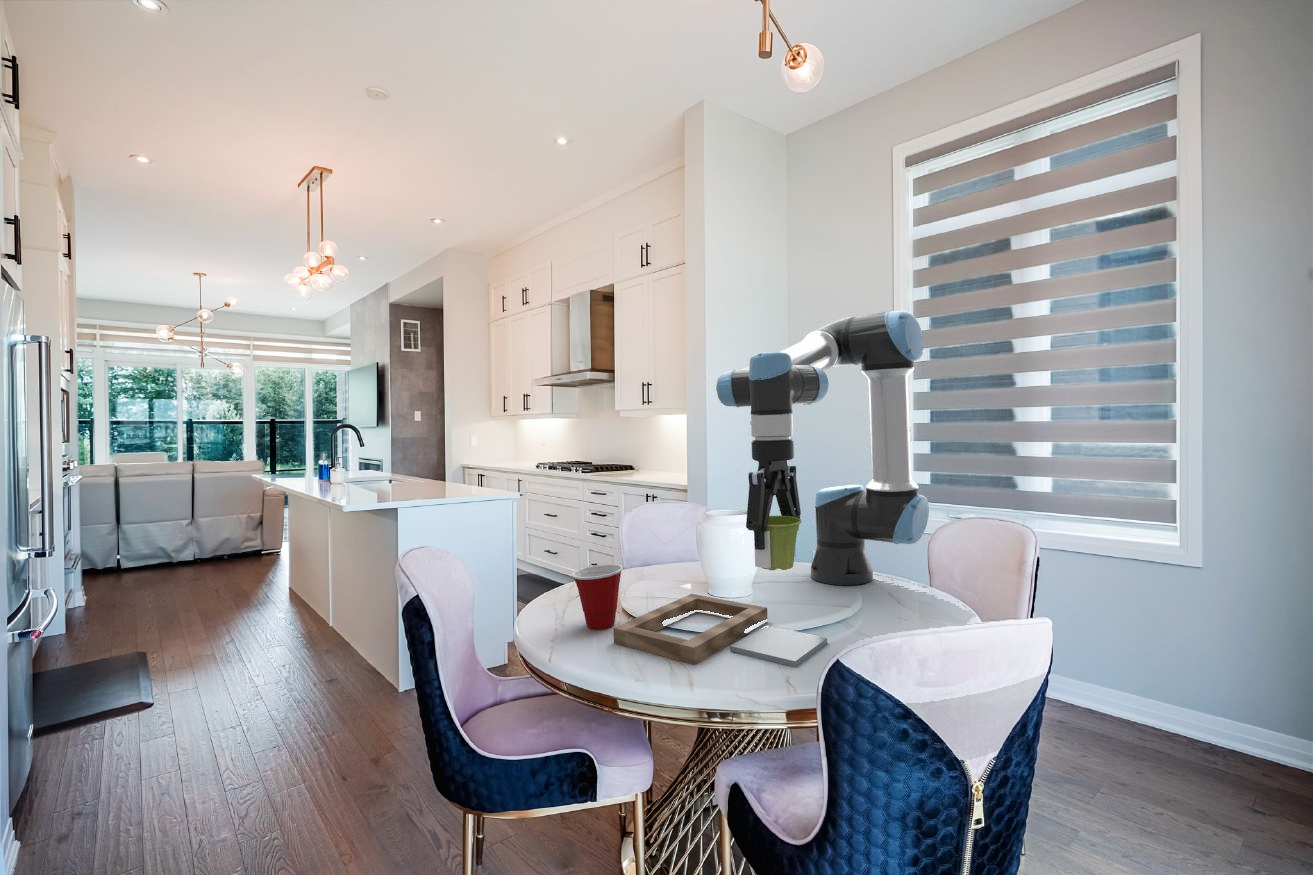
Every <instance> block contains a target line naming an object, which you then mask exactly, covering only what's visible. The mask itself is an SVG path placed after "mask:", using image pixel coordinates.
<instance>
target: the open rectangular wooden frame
mask: <svg viewBox="0 0 1313 875" xmlns="http://www.w3.org/2000/svg"><path fill="white" fill-rule="evenodd" d="M694 610H703V611H710V612H714V613H719V614H722V615H729V616H733V617H731V618H729V619H728V618H726V619H725V620H723V621H722V622H720V623H718V624H716V625H714V626H712V627H710V628H708V629H706V630H705V631H702V632H701V633H698V634H697V635H695V636H693V637H691V638H689V639H685V638H681V637H677V636H673V635H669V634H665V633H660V632H658V631H660V630H663V629H664V628H666V627H665V626H663V624H662V622H663V621H664V620H666V619H670V618H673V617H677V616H679V615H683V614H685V613H688V612H690V611H694ZM766 619H768V607H766V606H761V605H755V604H750V603H744V602H739V601H734V600H727V599H723V598H717V597H713V596H712V597H711V596H707V595H702V594H701V595H700V594H696V593H695V594H694V593H690V594H688V595H686V596H683V597H681V598H679V599H677V600H674V601H672V602H669V603H667V604H666V605H663V606H660V607H658V608H656V609H654V610H653V609H652V611H649V612H646V613H643V614H641V615H640V616H637V617H635V618H632V619H630V620H628V621H626V622H624V623H621V624H619V625H617V626H615V627H614V626H613V629H612V630H613V631H612V632H613V644H616V645H619V646H624V647H627V648H631V649H635V650H638V651H642V652H646V653H650V654H653V655H655V656H656V655H657V656H662V657H663V658H664V657H665V658H667V659H668V658H669V659H671V660H676V661H679V662H683V663H686V664H690V665H696V664H698V663H700V662H701V661H703V660H705V659H707V658H708V657H710V656H711V655H714V654H715V653H717V652H719V651H720V650H722V649H724V648H726V647H727V646H728V645H729V646H730V645H732V644H733V642H734V643H735V642H737V640H740V639H742V637H743V638H744V637H745V636H747V634H746V633H744V631H745V629H747V628H749V627H750V626H752V625H754V624H757V623H758V622H761V621H763V620H766Z"/></svg>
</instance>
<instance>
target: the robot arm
mask: <svg viewBox="0 0 1313 875" xmlns="http://www.w3.org/2000/svg"><path fill="white" fill-rule="evenodd" d="M923 351H924V336H923V332H922V329H921V326H920V323H919V322H918V321H917V318H916V317H915V316H914V315H913V314H912V313H911V312H910V311H907V310H888V311H885V312H882V311H881V312H876V313H871V314H870V313H869V314H864V315H856V316H848V317H844V318H840V319H838V320H836V321H834V322H833V321H832V322H831V323H829V324H826V325H824V326H822V327H820V328H817V329H816V330H813V331H811V332H809V333H808V334H806V336H805V337H804V339H803V340H802V341H801V342H800V341H799V342H798V343H796V344H794V345H792V346H790V347H787V348H786V349H784V350H781V351H769V352H759V353H754V354H752V355H751V357H750V358H749V366H747V367H744V368H743V369H737V370H736V369H732V370H728V371H724V372H722V373H721V374H720V375H719V377H718V378H717V381H716V386H715V388H716V389H715V391H716V394H717V398H718V400H719V402H720V403H721V404H722V405H724V406H725V407H736V408H741V407H743V408H744V407H750V415H751V416H750V423H749V424H750V426H751V427H750V428H751V429H750V431H751V437H752V438H754V439H752V441H751V442H750V443H751V458H752V460H754V461H756V462H758V467H757V471H756V472H755V471H753V472H752V471H751V472H750V471H749V472H748V497H747V507H746V508H747V509H746V522H745V528H746V529H747V530H748V531H752V532H753V536H754V537H753V538H754V539H753V541H754V544H753V545H754V566H755V567H756V568H761V567H762V568H761V569H763V568H771V559H770V531H766V530H767V525H768V520H769V516H771V515H770V514H771V509H772V504H773V500H774V496H775V498H776V501H777V505H778V508H779V512H780V516H791V517H796V518H799V519H801V515H802V514H801V512H802V511H801V504H800V498H799V497H800V496H799V490H798V482H797V466H796V465H788V461H791V460H793V459H794V457H795V447H794V446H795V445H794V444H795V443H794V440H793V438H791V437H792V436H794V433H795V432H794V417H793V415H794V414H793V405H794V406H795V405H808V406H809V405H812V404H816V403H818V402H821V401H822V400H823V399H824V398H825V397H826V395H827V394H828V390H829V386H830V384H829V379H828V376H827V373H825V371H826V370H828V369H830V368H833V367H845V366H860V367H861V368H860V370H861V373H862V374H863V375H864V376H865V377H866V378H867V379H868V398H869V422H870V424H869V425H870V446H871V447H870V449H871V450H870V452H871V473H872V479H871V480H870V481H869V482H868V484H867V485H866V486H865V488H864V486H863V485H861V484H849V485H848V484H847V485H839V486H832V487H825V488H822V489H819V490H818V491H817V492H816V494H815V505H814V509H815V527H816V528H815V531H816V550H815V552H814V556H813V559H812V562H811V566H810V578H811V579H812V580H814V581H816V582H819V583H822V584H823V583H824V584H827V585H828V584H829V585H837V586H854V585H862V584H867V583H869V582H871V581H873V579H874V576H873V575H874V572H873V567H872V564H871V561H870V559H869V556H868V553H867V551H866V546H865V543H866V542H865V540H866V541H875V542H884V543H891V544H895V545H899V544H903V545H914V544H916V543H917V542H919V541H920V540H921V538H922V537H923V536H924V533H925V531H926V530H927V525H928V521H929V514H930V504H929V502H928V501H929V500H928V498H927V497H926V496H924V495H923V494H921V493H920V494H919V484H917V483H916V482H915V481H914V480H913V479H912V473H911V471H912V470H911V469H912V468H911V466H912V465H911V443H910V442H911V441H910V440H911V439H910V416H909V415H910V412H909V410H910V409H909V387H908V386H909V385H908V382H909V381H908V377H909V375H910V374H911V373H912V372H913V371H914V370H915V362H917V361H919V360H920V359H921V358H922V356H923V353H924V352H923ZM865 490H866V491H865ZM796 556H797V553H796V548H795V554H794V558H796ZM755 567H754V568H755Z"/></svg>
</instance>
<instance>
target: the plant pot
mask: <svg viewBox="0 0 1313 875" xmlns="http://www.w3.org/2000/svg"><path fill="white" fill-rule="evenodd" d="M800 524H802V519H801V518H800V519H799V518H796V517H791V516H781V515H769V520H768V525H767V530H766V531H770V559H771V568H762V567H760V568H761V569H763V570H767V571H775V570H779V569H780V570H782V571H787V570H790V569H792V568H793V567H794V561H795V557H794V554H795V549H796V543H797V534H798V531H799V529H800Z"/></svg>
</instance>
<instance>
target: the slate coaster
mask: <svg viewBox="0 0 1313 875" xmlns="http://www.w3.org/2000/svg"><path fill="white" fill-rule="evenodd" d="M761 627H762V628H763V626H761ZM761 627H759V628H757V629H755V631H752V632H750V633H749V634H747V635H745V636H743V638H740V639H738V641H735V642H734V643H732V644H730V645H729V649H730V650H729V651H730V652H731V653H736V654H740V655H743V656H748V657H752V658H757V659H760V660H765V661H770V662H773V663H777V664H781V665H785V666H790V667H793V668H796V667H797V666H799V665H800V664H802V663H803V662H804V661H805V660H806V659H808V658H810V657H811V656H812V655H814V654H815V653H816V652H818V651H819V650H821V649H822V648H823V647H824V646H826V645H827V644H828V637H824V636H820V635H815V634H810V633H806V632H805V633H804V632H800V631H796V630H792V629H791V630H790V629H787V628H781V627H775V626H771V627H768V628H767V627H765V628H763V629H761Z"/></svg>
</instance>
